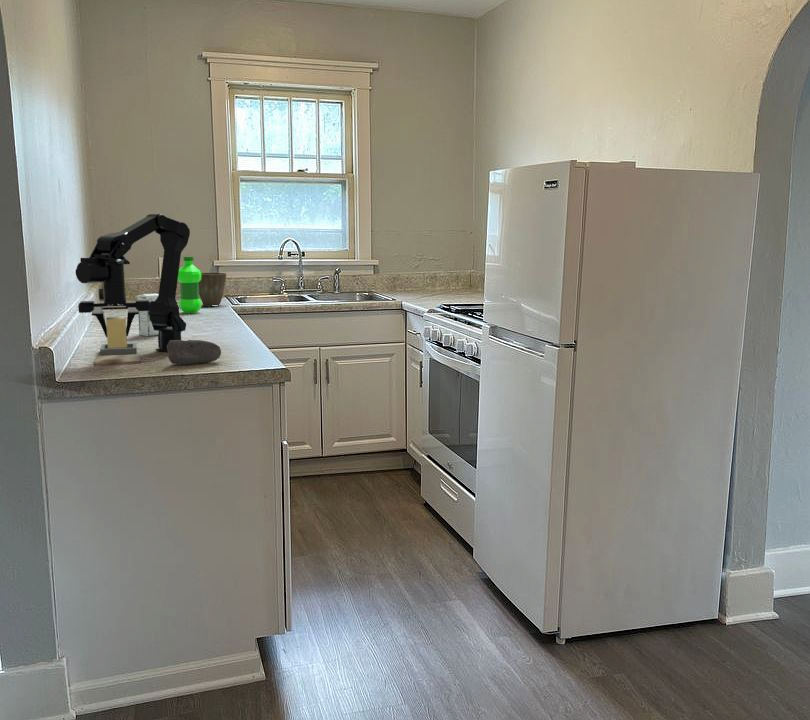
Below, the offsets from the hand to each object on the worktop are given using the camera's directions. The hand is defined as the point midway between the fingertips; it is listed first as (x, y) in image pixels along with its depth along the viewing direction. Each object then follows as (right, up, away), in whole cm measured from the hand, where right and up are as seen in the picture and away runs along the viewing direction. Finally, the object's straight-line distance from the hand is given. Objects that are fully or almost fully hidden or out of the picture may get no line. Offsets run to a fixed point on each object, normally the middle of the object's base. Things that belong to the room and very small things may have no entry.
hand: (117, 336), depth 209 cm
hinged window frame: (-7, -4, +19) cm, 20 cm away
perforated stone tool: (+23, -8, -2) cm, 24 cm away
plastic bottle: (-15, +14, +122) cm, 124 cm away
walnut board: (0, -7, +1) cm, 7 cm away
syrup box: (-8, +2, +52) cm, 53 cm away
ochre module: (0, -3, +1) cm, 3 cm away
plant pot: (-13, +19, +152) cm, 154 cm away
